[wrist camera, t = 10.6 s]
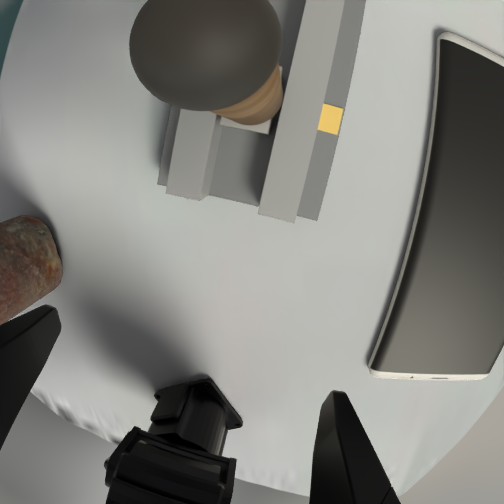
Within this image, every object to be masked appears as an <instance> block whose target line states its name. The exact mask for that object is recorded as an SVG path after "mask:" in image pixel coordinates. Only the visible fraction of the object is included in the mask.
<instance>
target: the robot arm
mask: <svg viewBox="0 0 504 504" xmlns="http://www.w3.org/2000/svg"><path fill="white" fill-rule="evenodd" d="M60 331H61V322H60V319H59V315H58V311H57V309H56V308H55V307H52V306H50V305H47V304H46V305H43V306H41V307H38V308H36V309H34V310H32V311H30V312H27V313H25V314H23V315H21V316H19V317H16V318H14V319H12V320H10V321H8V322H6V323H4V324H1V325H0V450H1V448H2V445H3V443H4V441H5V439H6V437H7V435H8V433H9V431H10V429H11V427H12V424H13V423H14V421H15V419H16V417H17V415H18V413H19V411H20V409H21V407H22V405H23V403H24V401H25V399H26V397H27V396H28V394H29V392H30V390H31V389H32V387H33V385H34V383H35V381H36V380H37V378H38V376H39V374H40V373H41V371H42V369H43V367H44V365H45V363H46V361H47V359H48V357H49V355H50V352H51V350H52V348H53V346H54V344H55V342H56V340H57V338H58V336H59V333H60ZM207 384H209V385H207ZM154 397H155V398H156V399H157V401H158V403H157V405H156V407H155V409H154V411H153V413H152V415H151V419H150V420H151V421H152V424H151V426H150V428H149V430H148V432H146V431H143V430H141V428H138V427H136V426H134V427H133V429H132V430H131V431H130V432H128V433H127V435H126V436H125V437H124V439H123V440H122V441H121V443H120V444H119V445H118V447H117V448H116V449H115V451H114V452H113V454H112V455H111V456H110V457H109V458H108V459H107V460H106V461H105V463H104V467H105V469H106V478H105V485H106V486H107V487H109V492H108V496H107V500H106V504H230V502H231V498H232V493H233V486H234V477H235V469H236V460H237V459H235V458H231V457H230V458H227V457H223V456H222V453H223V448H224V444H225V440H226V436H227V432H228V430H231V429H236V428H240V427H242V425H243V421H242V419H241V418H240V417H239V415H238V414H237V413H236V412H235V410H234V409H233V408H232V406H231V405H230V404H229V402H228V401H227V400H226V399H225V397H224V396H223V395H222V393H221V392H220V390H219V389H218V388H217V386H216V385H215V384H214V382H213V381H212V380H210V379H203V380H199V381H195V382H191V383H185V384H181V385H177V386H173V387H168V388H165V389H163V390H158V391H156V393H155V394H154ZM309 504H401V503H400V501H399V499H398V497H397V495H396V493H395V491H394V489H393V487H391V483H390V481H389V479H388V477H387V475H386V473H385V471H384V469H383V466H382V464H381V462H380V460H379V458H378V456H377V454H376V452H375V450H374V448H373V446H372V444H371V442H370V440H369V438H368V436H367V434H366V432H365V430H364V428H363V426H362V424H361V422H360V420H359V418H358V416H357V414H356V412H355V410H354V408H353V406H352V404H351V402H350V400H349V398H348V396H347V394H346V393H345V392H342V391H336V390H333V391H331V392H330V394H329V395H328V397H327V398H326V400H325V401H324V403H323V404H322V407H321V410H320V416H319V423H318V428H317V434H316V440H315V445H314V451H313V461H312V476H311V489H310V502H309Z"/></svg>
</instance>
